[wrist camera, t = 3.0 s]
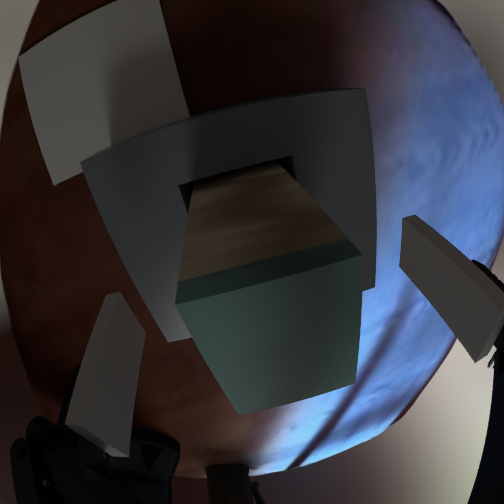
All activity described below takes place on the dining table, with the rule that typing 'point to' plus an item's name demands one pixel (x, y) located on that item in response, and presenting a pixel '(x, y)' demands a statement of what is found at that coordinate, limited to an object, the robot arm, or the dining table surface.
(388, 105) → the dining table surface
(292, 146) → the block
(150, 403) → the dining table surface
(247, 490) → the beer stein
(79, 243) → the dining table surface
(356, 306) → the teal and tan block
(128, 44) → the coaster
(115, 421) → the robot arm
